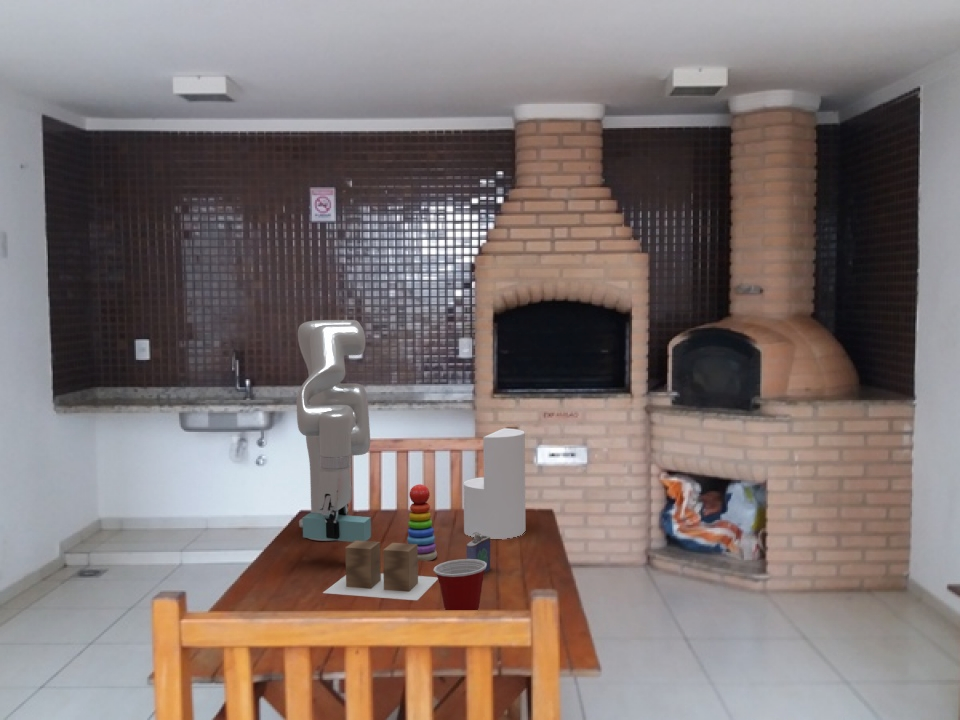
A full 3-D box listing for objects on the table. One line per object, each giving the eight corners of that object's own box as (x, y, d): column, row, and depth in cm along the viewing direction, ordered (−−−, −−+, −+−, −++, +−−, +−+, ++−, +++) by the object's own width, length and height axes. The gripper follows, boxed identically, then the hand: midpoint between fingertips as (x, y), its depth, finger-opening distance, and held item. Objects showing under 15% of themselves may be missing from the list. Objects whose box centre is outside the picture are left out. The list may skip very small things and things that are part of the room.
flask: (473, 584, 205) (473, 538, 204) (462, 582, 206) (462, 536, 205) (492, 573, 213) (492, 528, 212) (482, 571, 214) (481, 527, 213)
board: (322, 597, 197) (322, 592, 197) (350, 575, 212) (350, 571, 212) (417, 604, 191) (417, 600, 191) (439, 581, 207) (439, 577, 206)
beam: (302, 537, 218) (302, 517, 217) (310, 531, 222) (310, 512, 221) (364, 542, 214) (363, 522, 213) (371, 537, 218) (370, 517, 217)
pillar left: (346, 586, 201) (345, 547, 200) (356, 578, 206) (355, 540, 206) (371, 588, 199) (370, 549, 198) (380, 580, 205) (380, 541, 204)
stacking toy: (442, 555, 227) (441, 483, 226) (427, 564, 220) (426, 489, 219) (415, 552, 231) (414, 480, 229) (400, 560, 224) (398, 486, 222)
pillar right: (383, 589, 198) (383, 549, 198) (393, 581, 204) (392, 542, 203) (409, 591, 197) (408, 551, 196) (418, 583, 202) (417, 544, 202)
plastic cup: (444, 611, 187) (443, 555, 186) (494, 615, 184) (493, 558, 183) (426, 629, 177) (425, 570, 176) (478, 635, 174) (478, 574, 173)
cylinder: (533, 526, 256) (532, 429, 254) (514, 541, 239) (513, 438, 237) (476, 521, 261) (475, 427, 259) (454, 536, 245) (453, 435, 243)
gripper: (335, 453, 225) (336, 523, 227) (306, 469, 208) (307, 544, 211) (363, 455, 223) (364, 526, 225) (335, 471, 207) (337, 547, 209)
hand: (337, 534), depth 218 cm, fingers closed on beam, 4 cm apart
